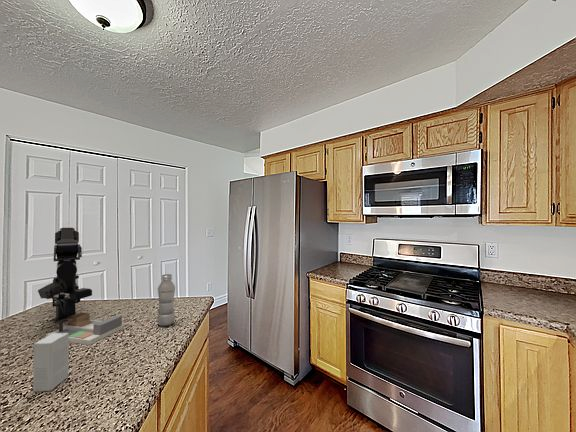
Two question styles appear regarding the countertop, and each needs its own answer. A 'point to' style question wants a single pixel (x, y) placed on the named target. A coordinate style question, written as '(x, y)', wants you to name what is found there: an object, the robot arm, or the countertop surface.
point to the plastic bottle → (166, 301)
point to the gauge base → (92, 330)
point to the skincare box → (50, 361)
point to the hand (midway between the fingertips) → (65, 314)
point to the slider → (76, 320)
